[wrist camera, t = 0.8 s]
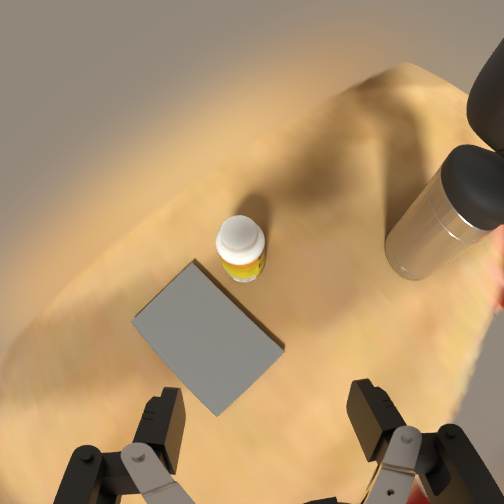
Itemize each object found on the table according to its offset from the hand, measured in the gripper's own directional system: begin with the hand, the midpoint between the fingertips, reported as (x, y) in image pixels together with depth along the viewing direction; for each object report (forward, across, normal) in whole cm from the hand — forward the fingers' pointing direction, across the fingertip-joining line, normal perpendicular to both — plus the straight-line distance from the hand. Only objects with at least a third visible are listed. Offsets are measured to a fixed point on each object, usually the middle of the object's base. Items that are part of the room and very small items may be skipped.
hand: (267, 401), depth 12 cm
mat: (+23, +6, +10) cm, 26 cm away
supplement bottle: (+28, +1, +2) cm, 29 cm away
